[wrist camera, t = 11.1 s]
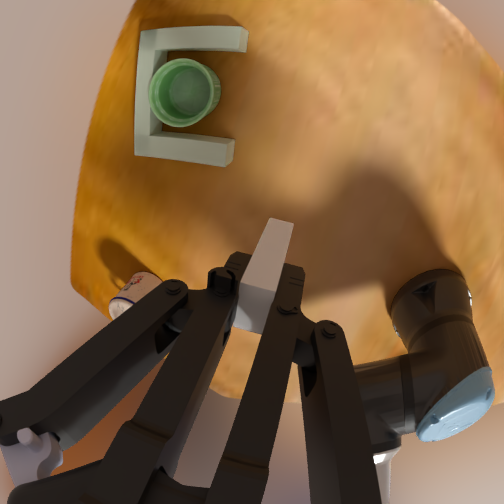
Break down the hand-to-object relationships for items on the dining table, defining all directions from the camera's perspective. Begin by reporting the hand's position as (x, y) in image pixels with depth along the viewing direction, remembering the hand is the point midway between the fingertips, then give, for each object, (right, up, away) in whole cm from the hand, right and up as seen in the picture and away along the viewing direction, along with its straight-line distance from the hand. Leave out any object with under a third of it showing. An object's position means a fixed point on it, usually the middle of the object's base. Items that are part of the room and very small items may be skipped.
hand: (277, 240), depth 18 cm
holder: (-9, +20, +16) cm, 27 cm away
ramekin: (-9, +21, +16) cm, 28 cm away
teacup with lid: (-23, -9, +38) cm, 45 cm away
